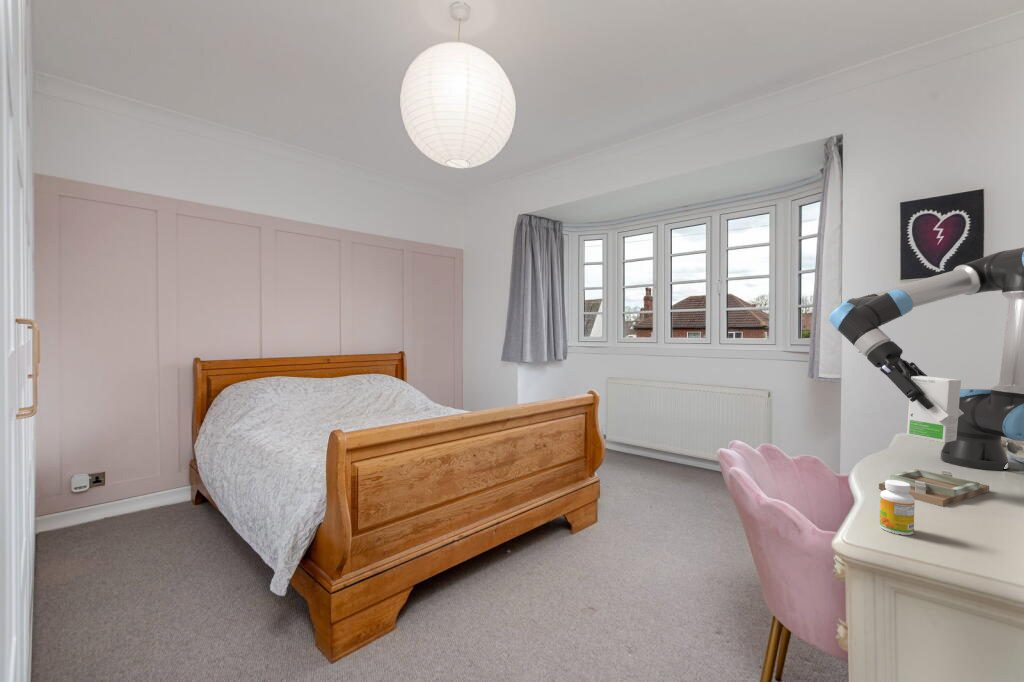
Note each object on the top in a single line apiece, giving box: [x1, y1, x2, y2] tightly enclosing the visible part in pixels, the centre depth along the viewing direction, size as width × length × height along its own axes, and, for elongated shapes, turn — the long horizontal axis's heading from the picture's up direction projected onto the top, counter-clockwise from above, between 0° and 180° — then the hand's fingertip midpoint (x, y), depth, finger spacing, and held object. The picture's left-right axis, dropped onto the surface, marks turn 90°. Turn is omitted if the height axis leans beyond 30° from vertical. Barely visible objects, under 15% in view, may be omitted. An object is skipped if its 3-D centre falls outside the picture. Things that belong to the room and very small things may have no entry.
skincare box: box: [906, 375, 962, 444], centre depth 121 cm, size 8×7×16 cm
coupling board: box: [878, 468, 990, 507], centre depth 121 cm, size 24×13×3 cm, turn 116°
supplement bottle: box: [879, 479, 916, 536], centre depth 96 cm, size 5×5×10 cm
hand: (951, 417), depth 118 cm, fingers closed on skincare box, 6 cm apart
